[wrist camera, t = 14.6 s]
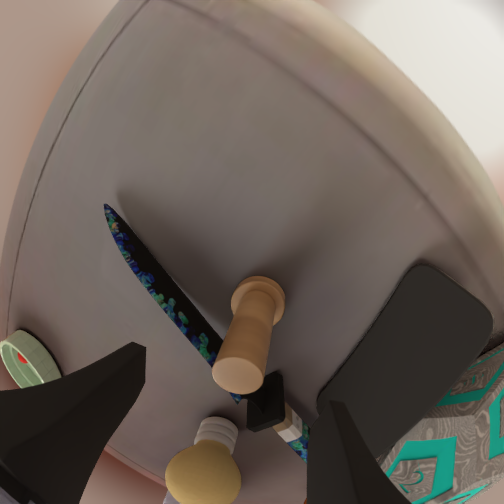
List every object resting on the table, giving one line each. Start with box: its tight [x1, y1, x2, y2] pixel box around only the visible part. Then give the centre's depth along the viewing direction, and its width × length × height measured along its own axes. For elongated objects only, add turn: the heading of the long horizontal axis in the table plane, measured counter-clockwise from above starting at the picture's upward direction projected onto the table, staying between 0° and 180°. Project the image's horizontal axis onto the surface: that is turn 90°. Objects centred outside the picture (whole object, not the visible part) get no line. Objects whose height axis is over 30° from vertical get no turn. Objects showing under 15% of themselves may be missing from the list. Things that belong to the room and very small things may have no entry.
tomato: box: [18, 352, 28, 364], centre depth 26 cm, size 2×2×2 cm
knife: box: [104, 204, 310, 463], centre depth 20 cm, size 31×3×4 cm, turn 36°
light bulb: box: [165, 417, 241, 504], centre depth 20 cm, size 6×6×10 cm
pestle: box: [212, 276, 285, 394], centre depth 16 cm, size 4×4×8 cm
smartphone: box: [317, 263, 494, 459], centre depth 17 cm, size 8×1×15 cm
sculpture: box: [377, 343, 504, 504], centre depth 15 cm, size 13×14×30 cm
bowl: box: [0, 330, 61, 388], centre depth 26 cm, size 10×10×4 cm
